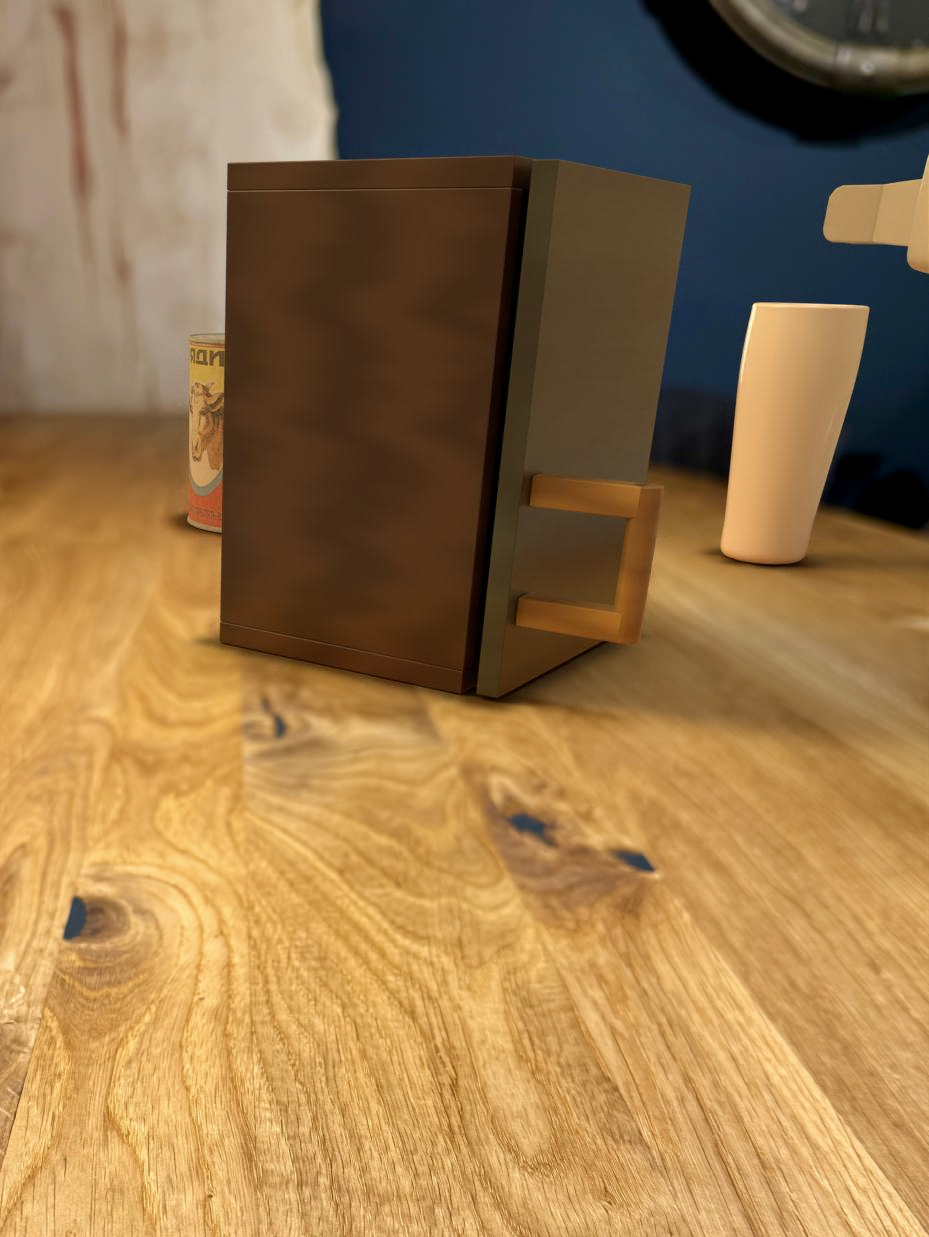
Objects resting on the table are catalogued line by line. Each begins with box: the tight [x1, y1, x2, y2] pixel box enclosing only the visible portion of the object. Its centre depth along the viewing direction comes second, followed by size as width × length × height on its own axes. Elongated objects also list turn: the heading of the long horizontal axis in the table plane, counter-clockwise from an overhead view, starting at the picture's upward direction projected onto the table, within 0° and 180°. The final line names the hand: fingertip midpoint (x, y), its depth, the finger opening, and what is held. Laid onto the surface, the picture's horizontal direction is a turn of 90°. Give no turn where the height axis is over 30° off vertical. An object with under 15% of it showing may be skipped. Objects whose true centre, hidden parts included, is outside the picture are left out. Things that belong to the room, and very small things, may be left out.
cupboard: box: [219, 154, 539, 695], centre depth 60 cm, size 13×15×20 cm
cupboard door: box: [475, 158, 692, 699], centre depth 55 cm, size 6×15×20 cm, turn 145°
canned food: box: [187, 332, 225, 534], centre depth 90 cm, size 11×11×12 cm
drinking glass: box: [719, 302, 871, 565], centre depth 82 cm, size 7×7×15 cm
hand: (836, 215), depth 48 cm, fingers closed
